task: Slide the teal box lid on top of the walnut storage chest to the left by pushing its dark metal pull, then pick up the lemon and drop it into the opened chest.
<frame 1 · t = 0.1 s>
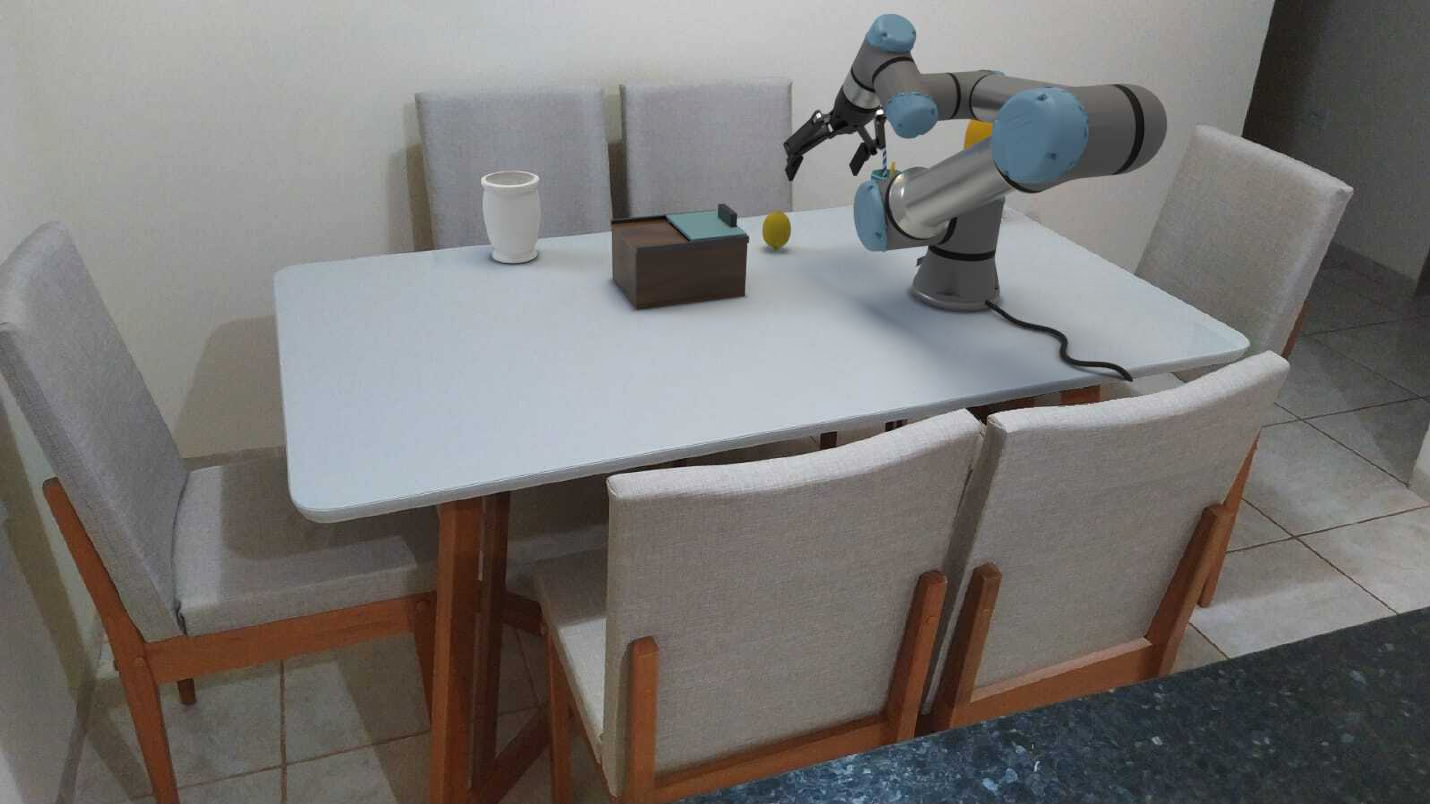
hand: (821, 173, 199), 15 cm above the table, tool tilted 35°, fingers open, 13 cm apart
chest: (677, 288, 186), on the table
beer bottle: (974, 216, 228), on the table
jar: (514, 257, 197), on the table
teal box lid: (706, 219, 182), point 12 cm above the table, slide at 0.0 cm
lemon: (775, 250, 205), on the table
cup: (882, 222, 222), on the table
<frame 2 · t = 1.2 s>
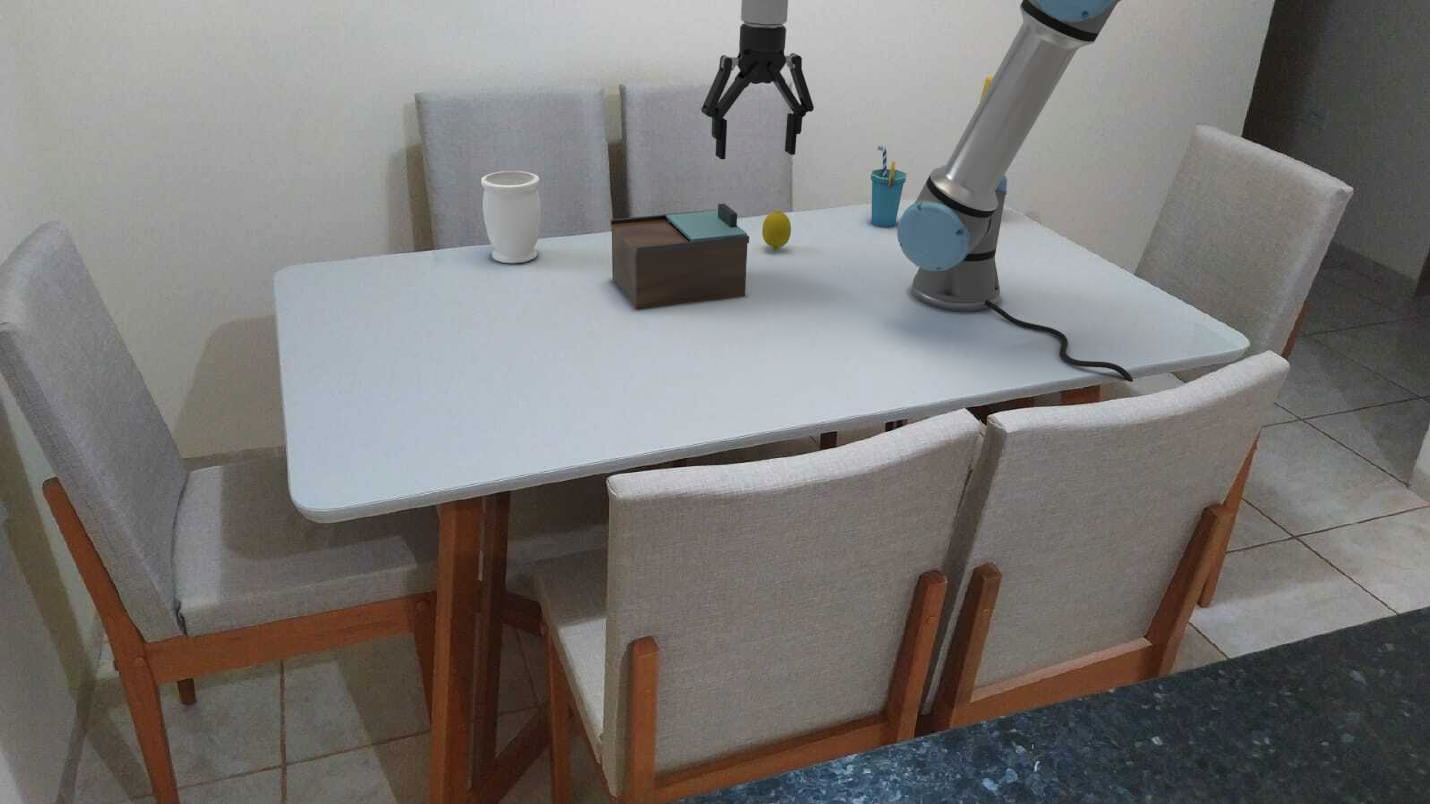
hand: (755, 155, 180), 23 cm above the table, tool pointing down, fingers open, 12 cm apart
nothing on the table moved.
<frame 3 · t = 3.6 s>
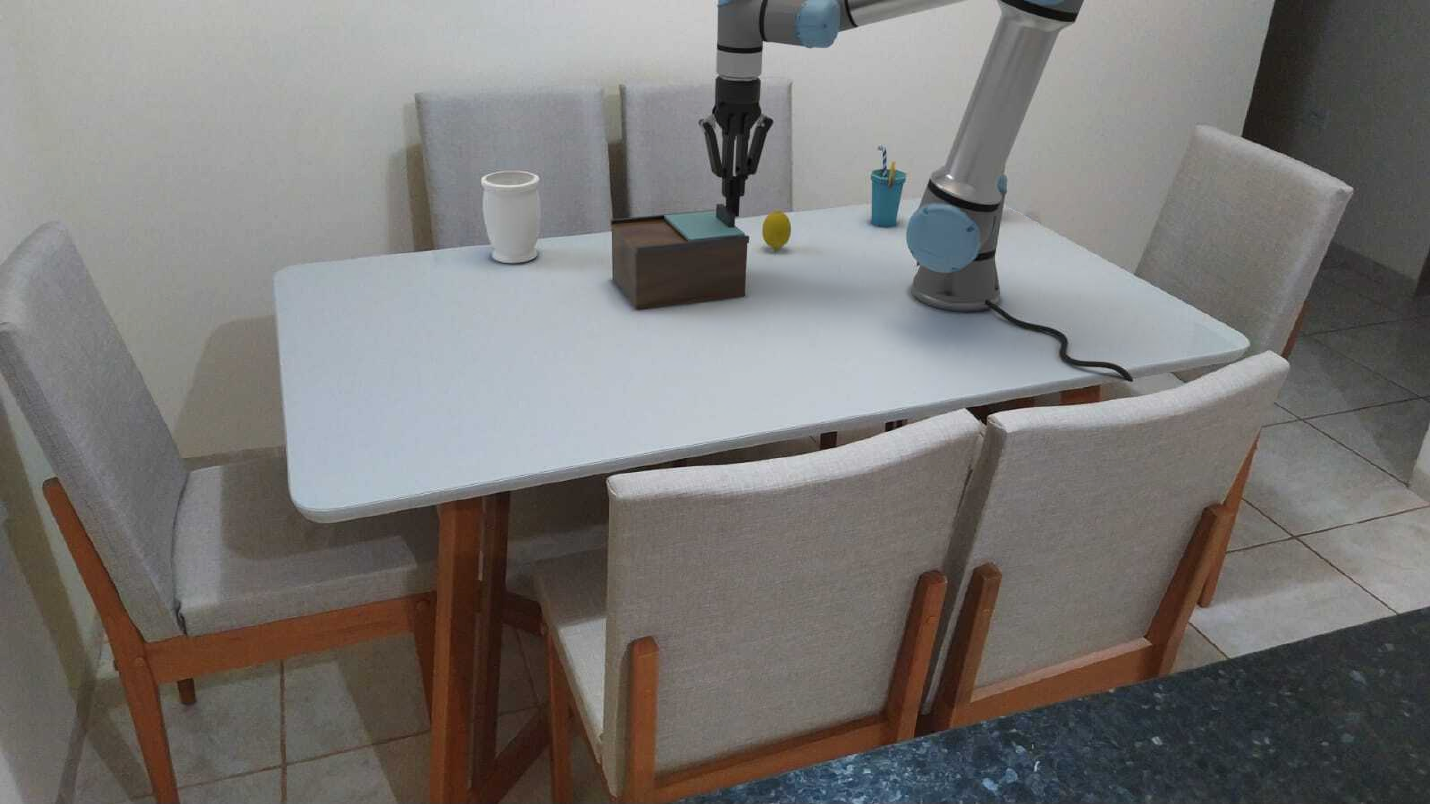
hand: (732, 214, 184), 13 cm above the table, tool pointing down, fingers closed
teal box lid: (704, 219, 182), point 12 cm above the table, slide at 0.4 cm, touching gripper
everything else where it was.
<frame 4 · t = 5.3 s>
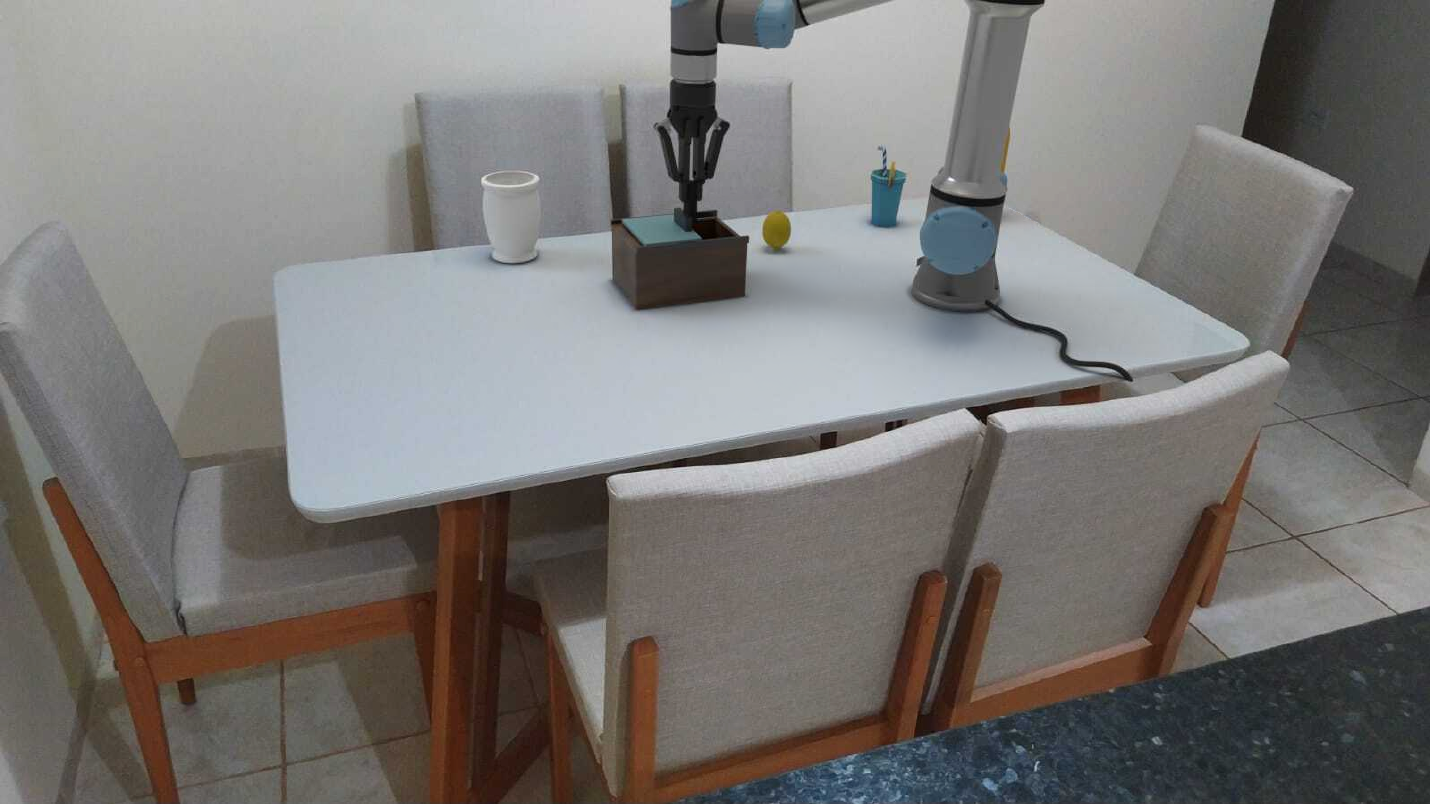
hand: (690, 219, 181), 12 cm above the table, tool pointing down, fingers closed
teal box lid: (660, 223, 179), point 12 cm above the table, slide at 8.3 cm, touching gripper
everything else where it was.
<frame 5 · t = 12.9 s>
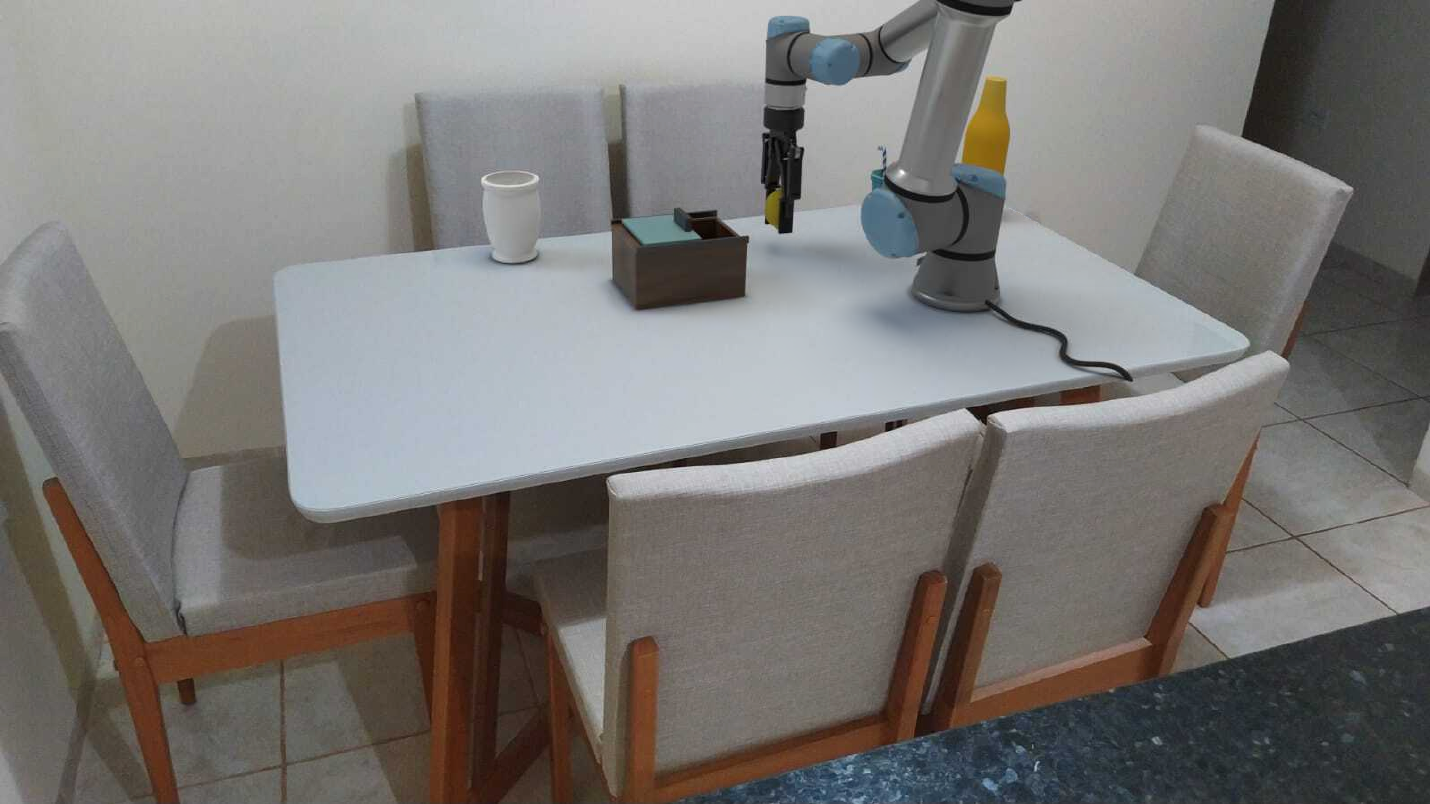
hand: (778, 227, 203), 5 cm above the table, tool pointing down, fingers closed on lemon, 5 cm apart
teal box lid: (660, 223, 179), point 12 cm above the table, slide at 8.3 cm
lemon: (778, 230, 203), point 4 cm above the table, touching gripper
everything else where it was.
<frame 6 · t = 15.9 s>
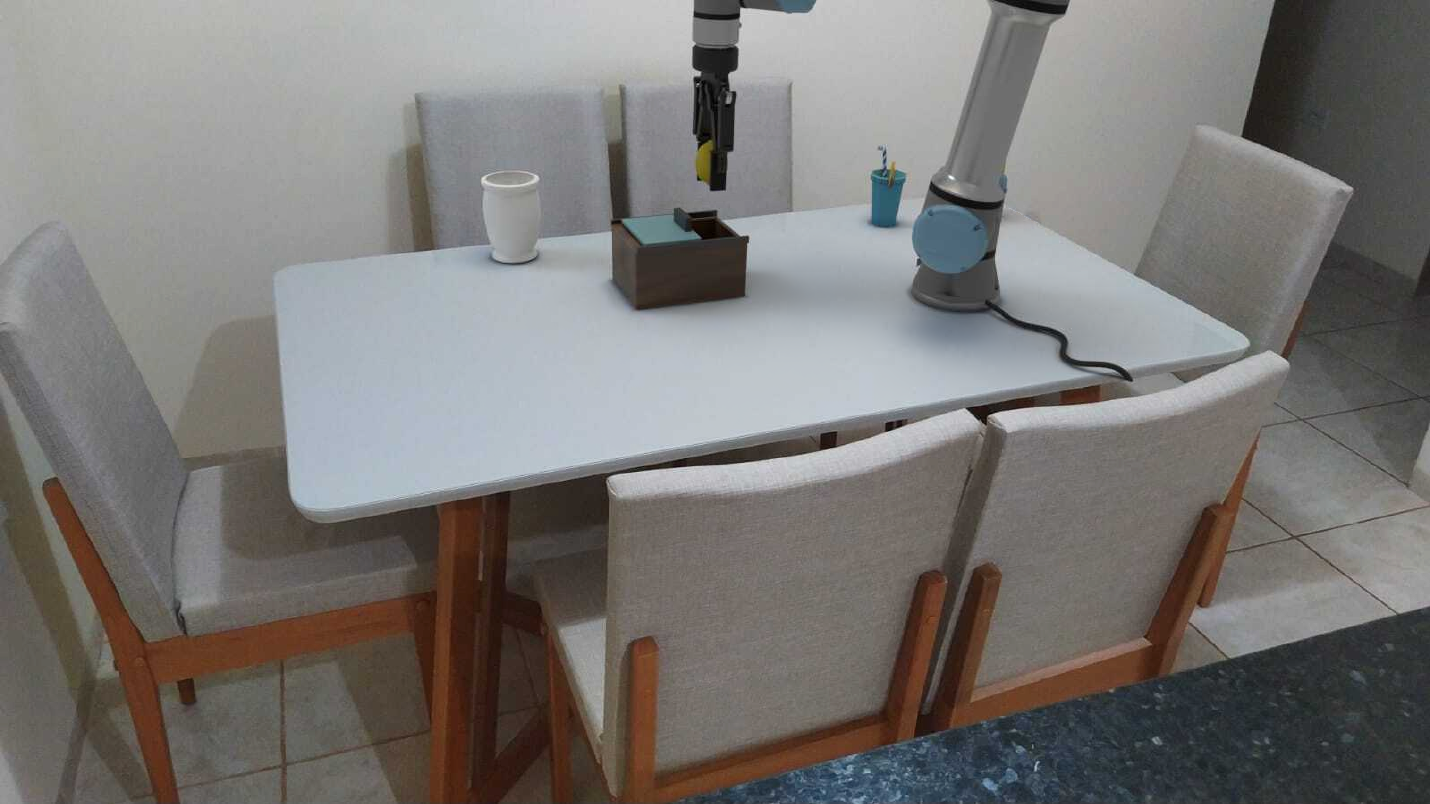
hand: (711, 184, 180), 18 cm above the table, tool pointing down, fingers closed on lemon, 5 cm apart
lemon: (710, 187, 180), point 18 cm above the table, touching gripper
everything else where it was.
when the fingers open (9 cm above the table, at t = 20.1 s): lemon stays where it is, resting on chest.
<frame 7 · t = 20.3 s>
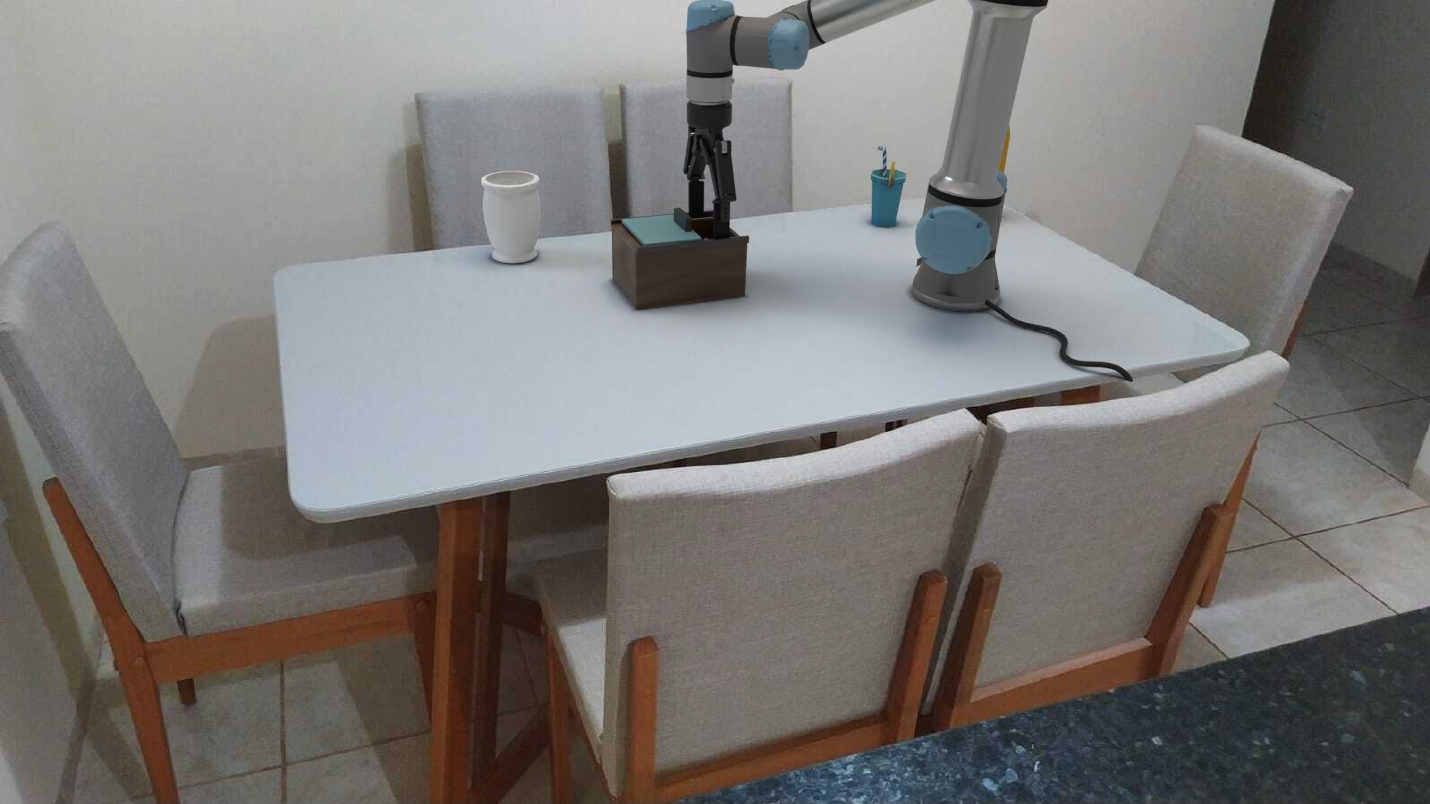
hand: (708, 227, 183), 11 cm above the table, tool pointing down, fingers open, 11 cm apart
lemon: (704, 282, 187), point 1 cm above the table, touching chest
everything else where it was.
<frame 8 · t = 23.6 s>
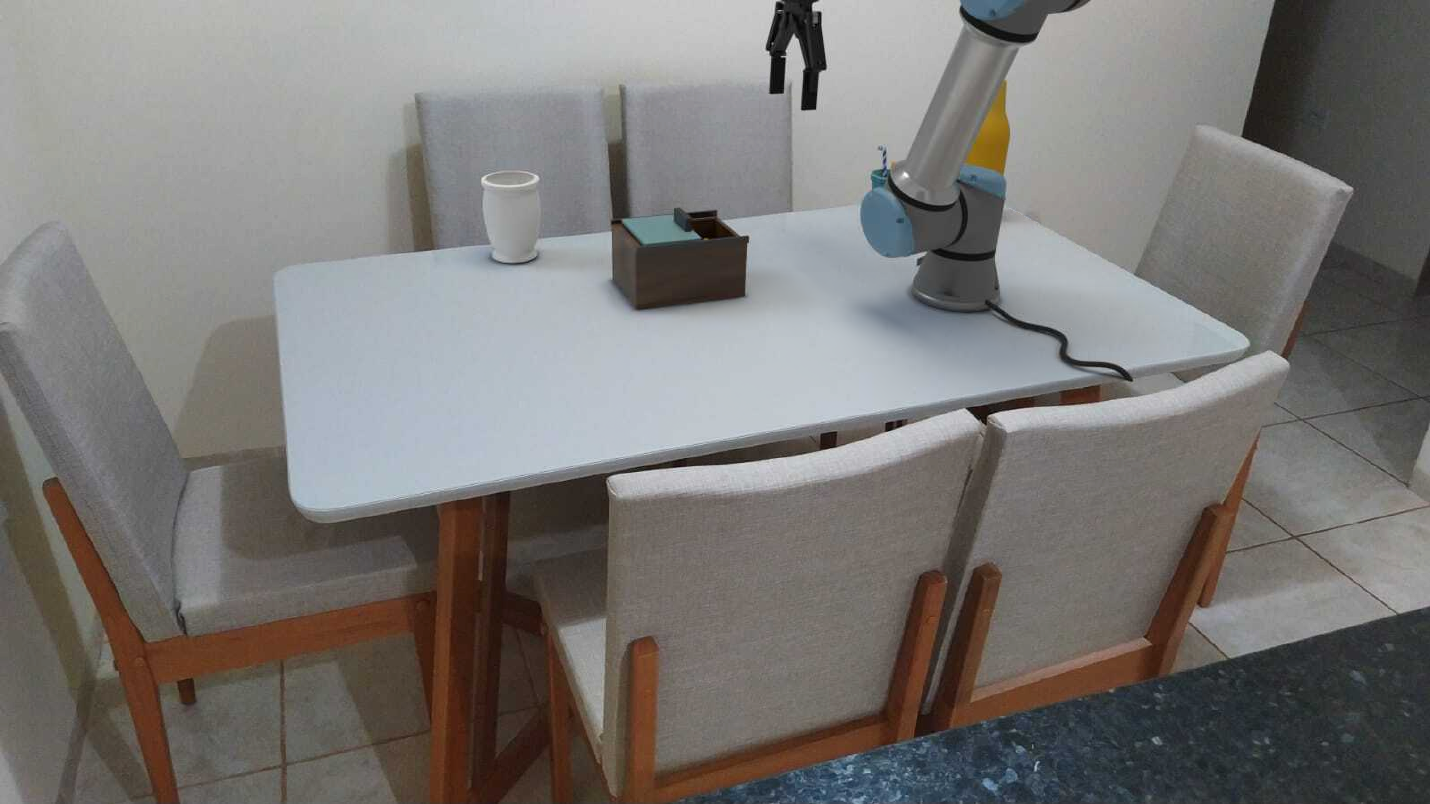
hand: (791, 101, 191), 29 cm above the table, tool pointing down, fingers open, 13 cm apart
nothing on the table moved.
at the end: teal box lid slide at 8.3 cm; lemon inside the target area on the chest (5.0 cm from its centre), point 0.6 cm above the chest's base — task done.
